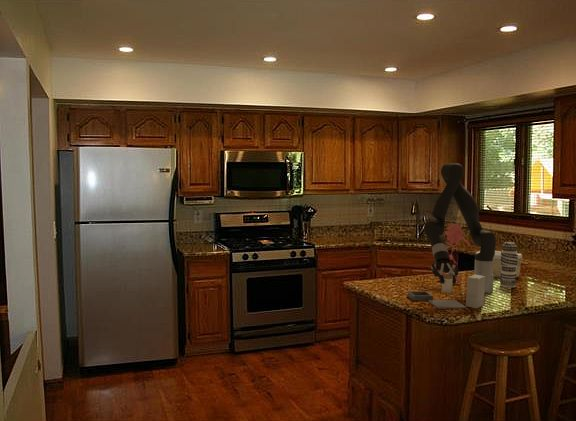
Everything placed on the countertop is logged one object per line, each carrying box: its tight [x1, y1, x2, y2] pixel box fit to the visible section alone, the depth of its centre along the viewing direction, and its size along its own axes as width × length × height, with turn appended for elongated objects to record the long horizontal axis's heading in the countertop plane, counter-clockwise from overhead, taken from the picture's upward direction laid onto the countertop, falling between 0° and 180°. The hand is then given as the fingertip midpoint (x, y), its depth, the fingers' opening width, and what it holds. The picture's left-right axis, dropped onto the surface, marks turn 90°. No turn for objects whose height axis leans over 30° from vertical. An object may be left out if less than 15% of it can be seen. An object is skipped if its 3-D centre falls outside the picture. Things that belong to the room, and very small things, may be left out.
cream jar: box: [441, 273, 454, 294], centre depth 263 cm, size 5×5×8 cm
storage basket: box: [475, 250, 523, 279], centre depth 338 cm, size 24×16×15 cm
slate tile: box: [427, 299, 467, 310], centre depth 264 cm, size 14×14×1 cm
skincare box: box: [465, 273, 485, 309], centre depth 261 cm, size 8×6×15 cm
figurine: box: [438, 222, 472, 285], centre depth 316 cm, size 15×26×35 cm, turn 34°
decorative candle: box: [499, 241, 518, 288], centre depth 308 cm, size 9×9×25 cm
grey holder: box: [407, 290, 434, 302], centre depth 276 cm, size 10×10×2 cm
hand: (448, 282), depth 261 cm, fingers closed on cream jar, 5 cm apart
